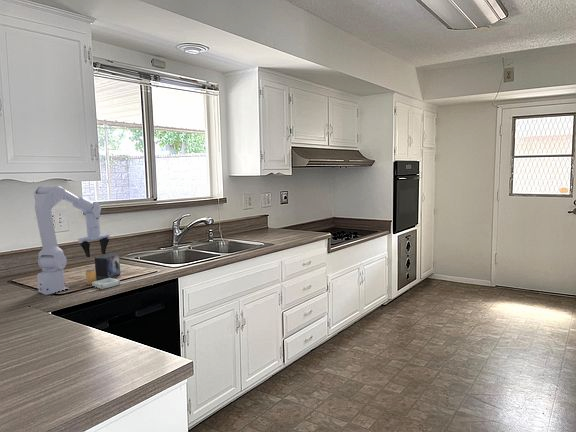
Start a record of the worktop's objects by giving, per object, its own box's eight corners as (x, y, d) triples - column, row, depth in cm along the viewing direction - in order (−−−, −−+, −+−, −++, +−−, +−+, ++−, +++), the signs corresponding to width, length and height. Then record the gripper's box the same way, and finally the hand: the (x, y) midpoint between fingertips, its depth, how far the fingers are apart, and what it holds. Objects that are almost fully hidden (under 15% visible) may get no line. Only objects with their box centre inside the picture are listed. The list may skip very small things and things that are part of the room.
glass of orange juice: (89, 285, 190) (88, 271, 189) (85, 284, 193) (83, 270, 192) (98, 283, 193) (97, 269, 192) (93, 282, 196) (92, 268, 195)
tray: (101, 289, 183) (101, 285, 183) (91, 286, 189) (91, 282, 188) (120, 284, 190) (119, 280, 190) (110, 281, 195) (109, 277, 195)
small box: (108, 280, 197) (106, 258, 196) (95, 280, 198) (93, 258, 197) (121, 274, 207) (119, 253, 206) (109, 274, 209) (107, 253, 207)
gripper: (103, 224, 214) (105, 251, 216) (73, 228, 203) (76, 257, 205) (111, 225, 210) (113, 253, 212) (81, 229, 199) (84, 259, 200)
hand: (95, 255), depth 208 cm, fingers open, 7 cm apart
